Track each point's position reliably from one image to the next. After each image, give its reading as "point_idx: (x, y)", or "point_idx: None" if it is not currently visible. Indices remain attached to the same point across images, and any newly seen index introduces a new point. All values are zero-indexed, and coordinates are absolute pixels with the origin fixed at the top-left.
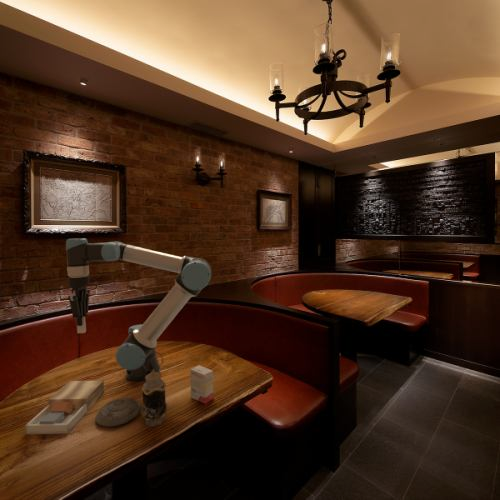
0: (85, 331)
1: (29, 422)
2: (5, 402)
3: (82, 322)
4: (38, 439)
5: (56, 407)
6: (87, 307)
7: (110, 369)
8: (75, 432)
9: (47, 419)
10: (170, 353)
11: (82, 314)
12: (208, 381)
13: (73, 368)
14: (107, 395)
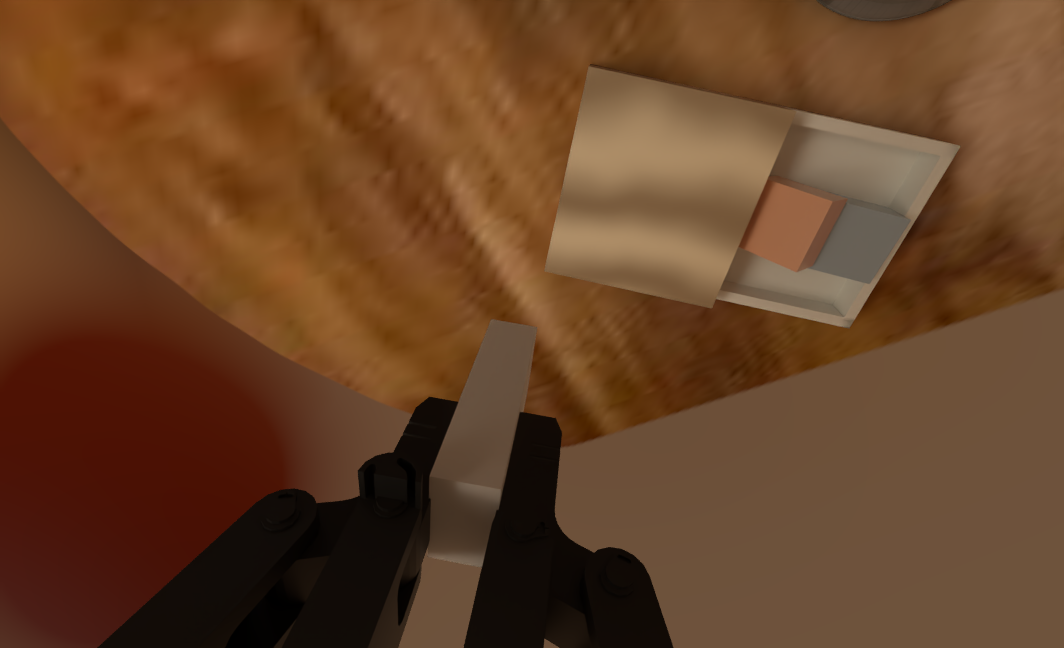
0: (505, 326)
1: (831, 320)
2: (565, 446)
3: (515, 436)
4: (902, 250)
5: (817, 246)
6: (201, 612)
7: (321, 104)
8: (945, 102)
9: (875, 254)
10: None
11: (504, 561)
12: None
13: (312, 308)
14: (636, 28)
